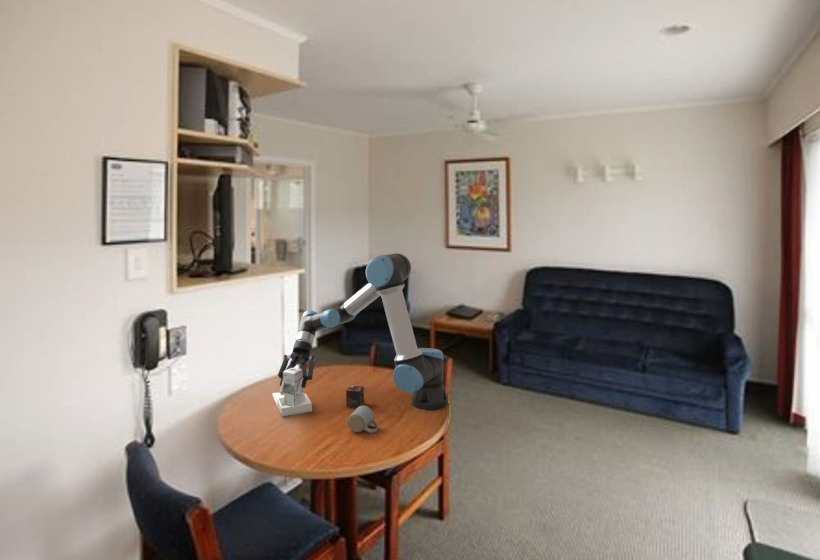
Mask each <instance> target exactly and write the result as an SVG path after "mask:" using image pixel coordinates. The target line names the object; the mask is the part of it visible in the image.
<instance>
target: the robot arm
mask: <svg viewBox="0 0 820 560" xmlns="http://www.w3.org/2000/svg"><path fill="white" fill-rule="evenodd" d="M365 268H366V269H365V277H366V280H367V282H368V283H366V284H365V285H364V286H362V287H361V288H360V289H359V290H358V291H357V292H355V294H353V295H352V296H351V297H349V298H348V299H347V300H346V301H345V302H343V303H342V304H341V305H340V306H337V307H334V308H330V309H326V310H323V311H320V312H317V311H314V310H306V311H304V312H303V314H302V317H301V319H300V323H299V327H298V330H297V334H296V338H295V340H294V345H293V348H292V352H291V354H288V355H287V354H284V356H283V361H282V363H281V366H280V369H279V370H278V373H277V376H278V378H279V379H280V383H279V386H280V390H279V393H280V394H281V395H284V381H283V371H285V370H287V369H289V368H295V367H296V366H298V365H300V366H301V369H302V376H303V379H302V378H301V380H300V384H299V388H298V392H297V394H298V395H299V396H301V394H302V390H303V391H304V388H306V386H307V382H308V381H309V380H310V381H312V380H313V376H314V375H313V374H314V366H315V363H316V361H317V359H316V357H315V355H311V352H312V348H313V344H314V340H315V337H316V332H319V331H323V330H328V329H331V328H334V327H336V326H338V325H341V324H345V323H349V322H351V321H352V320H354V319H355V318H356V316H357V315H358V314H359V313H360V312H361V311H362V310H364V309H366V307H368V306H369V305H370V304H372V303H373V302H374V301H375V300H376V299H378V298H379V297H381V300H382V305H383V309H384V312H385V316H386V321H387V324H388V328H389V331H390V336H391V338H392V343H393V346H394V351H395V354H396V355H395V357H394V359H393V360H394V364H395V367H394V370H393V372H392V380H393V383H394V385H395V386H396V387H397V388H398V389H399V390H401V391H403V392H406V393H412V394H411V395H412V396H411V405H413V406H414V407H416V408H418V409H421V410H438V409H441V408H444V407H446V406H447V405H448V395H447V392H446V389H445V387H444V360H445V359H444V353H443V351H442V350H440V349H437V348H431V347H419V348H418V346H417V342H416V337H415V334H414V330H413V325H412V323H411V319H410V315H409V312H408V308H407V304H406V303H407V302H406V301H405V300H406V299H405V296H404V293H403V292H404V291H403V289H404V288H405V282H404V281H405V280H406V279H407V278H409V277H410V274H411V272H412V265H411V262H410V259H409V258H408V257H407V256H405V255H404V254H402V253H390V254H381V255H378V256H374V257H373V258H372V259H370V260H369V262H368V264H367V265H366V267H365ZM308 361H309V363H308V364H309V365H308V370H307V362H308Z"/></svg>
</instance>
